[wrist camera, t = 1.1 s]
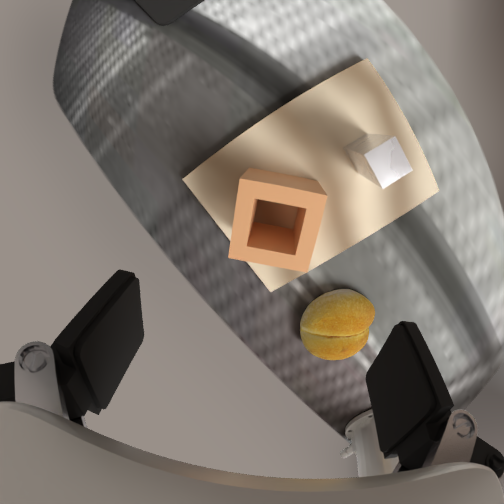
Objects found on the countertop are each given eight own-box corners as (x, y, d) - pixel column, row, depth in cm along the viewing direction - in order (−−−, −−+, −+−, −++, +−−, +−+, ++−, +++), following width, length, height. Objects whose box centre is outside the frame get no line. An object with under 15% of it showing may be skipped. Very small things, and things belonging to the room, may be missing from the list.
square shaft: (358, 173, 22) (382, 189, 16) (342, 147, 22) (364, 154, 16) (381, 158, 21) (412, 170, 16) (366, 133, 21) (395, 135, 15)
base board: (271, 286, 29) (270, 292, 28) (186, 177, 25) (182, 179, 24) (434, 188, 23) (439, 190, 22) (364, 60, 19) (367, 58, 18)
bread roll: (377, 285, 28) (387, 307, 24) (360, 345, 32) (366, 368, 28) (303, 283, 29) (306, 306, 25) (296, 345, 33) (296, 369, 29)
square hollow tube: (302, 243, 26) (307, 272, 21) (239, 231, 26) (228, 257, 21) (317, 181, 23) (327, 195, 18) (249, 167, 23) (239, 178, 18)
